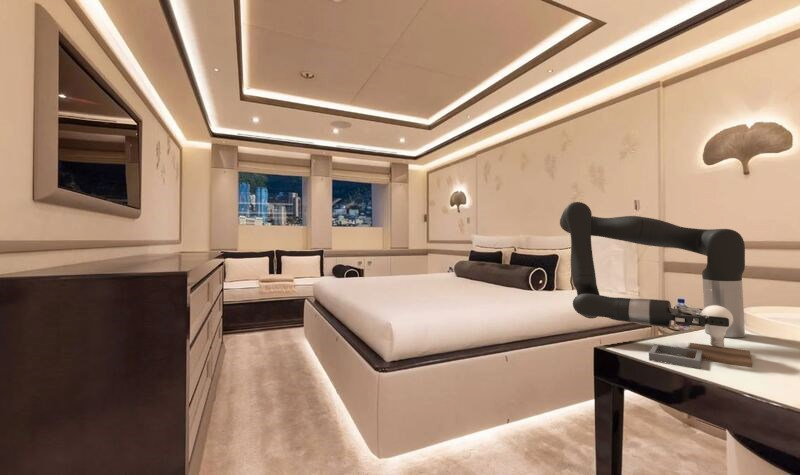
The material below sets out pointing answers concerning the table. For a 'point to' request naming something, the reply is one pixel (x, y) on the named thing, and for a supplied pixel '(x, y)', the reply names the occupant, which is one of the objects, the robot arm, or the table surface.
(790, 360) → the table surface
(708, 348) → the coaster
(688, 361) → the tray
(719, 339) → the lightbulb
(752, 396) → the table surface
